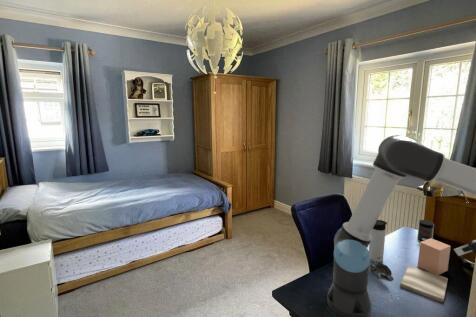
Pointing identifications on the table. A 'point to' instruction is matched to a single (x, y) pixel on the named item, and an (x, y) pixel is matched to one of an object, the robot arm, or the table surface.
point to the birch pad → (424, 283)
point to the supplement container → (425, 230)
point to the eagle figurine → (381, 270)
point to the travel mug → (377, 242)
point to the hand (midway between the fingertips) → (465, 248)
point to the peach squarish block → (434, 256)
